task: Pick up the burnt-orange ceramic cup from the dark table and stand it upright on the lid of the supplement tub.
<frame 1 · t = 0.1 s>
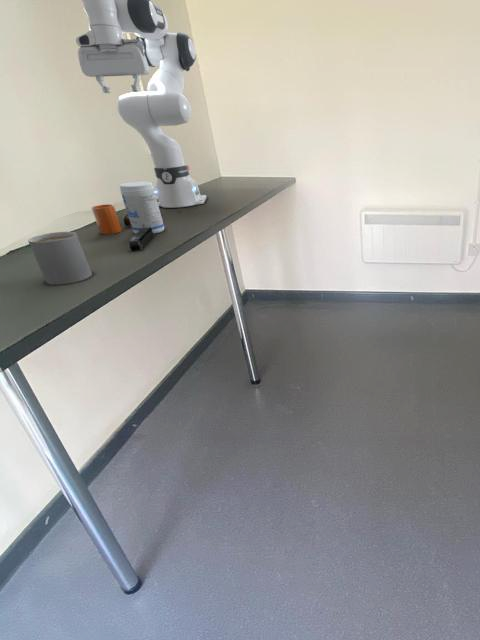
hand: (121, 92, 156), 39 cm above the table, tool pointing down, fingers open, 8 cm apart
sunglasses case: (143, 221, 172), on the table
cup: (111, 231, 160), on the table
tablet stand: (143, 244, 146), on the table
supplement tub: (150, 232, 158), on the table
coffee mug: (72, 276, 121), on the table
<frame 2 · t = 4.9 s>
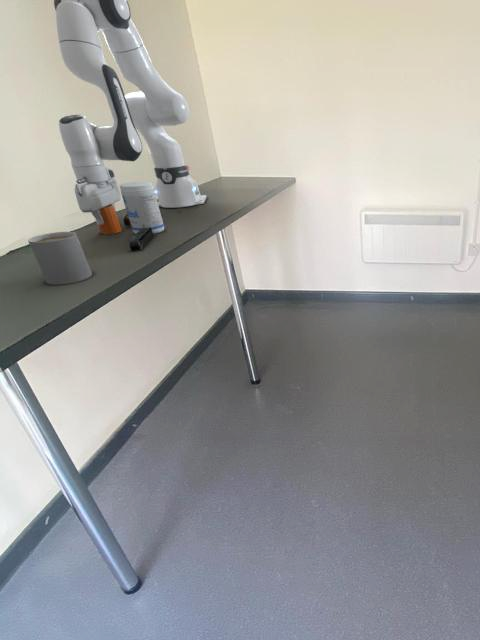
hand: (107, 221, 158), 3 cm above the table, tool pointing down, fingers closed on cup, 6 cm apart
cup: (111, 231, 160), on the table, touching gripper
everything else where it was.
when the fingers open (18 cm above the table, at t = 11.9 s): cup stays where it is, resting on supplement tub.
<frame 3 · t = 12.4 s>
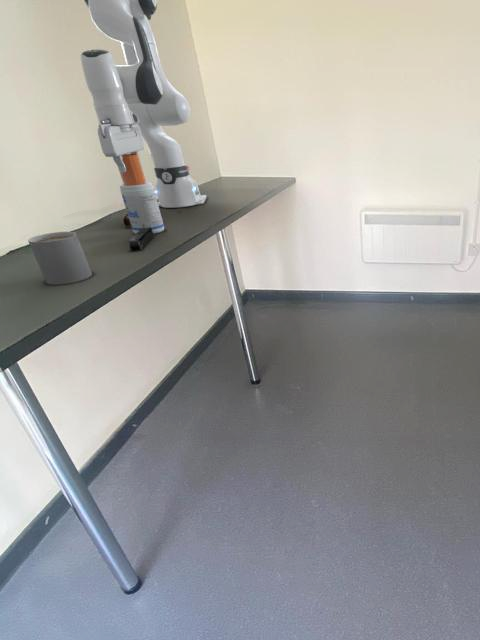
hand: (130, 170, 148), 19 cm above the table, tool pointing down, fingers open, 8 cm apart
cup: (135, 183, 150), point 15 cm above the table, touching supplement tub
supplement tub: (150, 232, 158), on the table, touching cup
everything else where it was.
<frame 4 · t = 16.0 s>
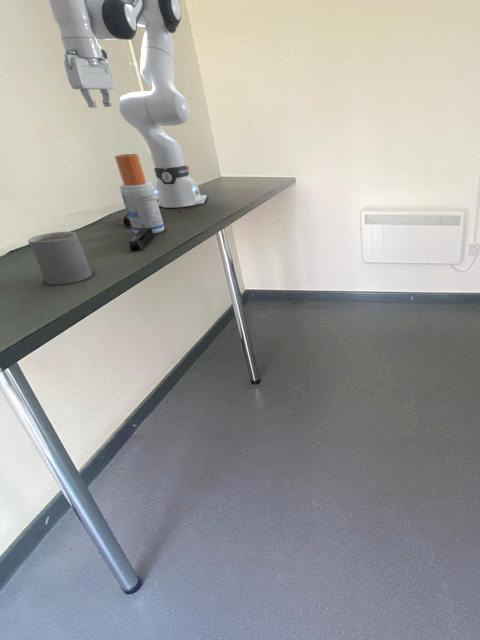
hand: (100, 107, 147), 35 cm above the table, tool pointing down, fingers open, 8 cm apart
nothing on the table moved.
at the end: cup 0.1 cm off-centre on the supplement tub, point 14.9 cm above the supplement tub's base; cup tilted 0° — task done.
